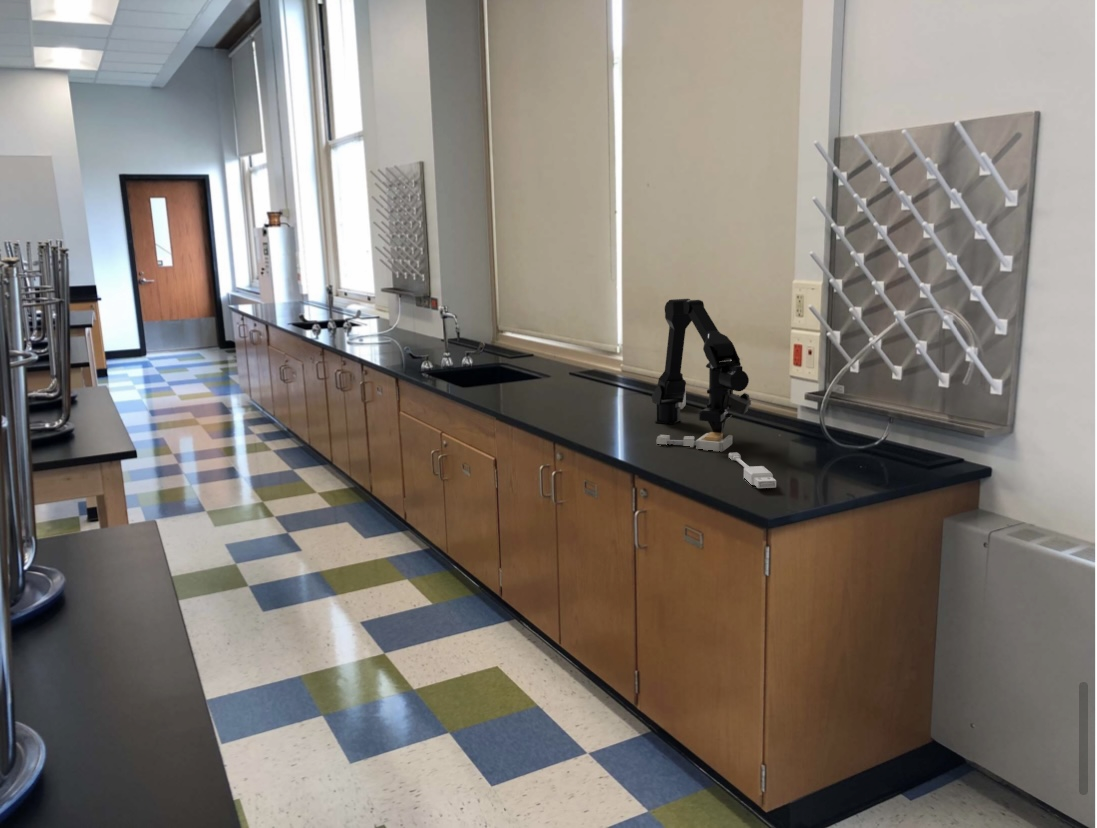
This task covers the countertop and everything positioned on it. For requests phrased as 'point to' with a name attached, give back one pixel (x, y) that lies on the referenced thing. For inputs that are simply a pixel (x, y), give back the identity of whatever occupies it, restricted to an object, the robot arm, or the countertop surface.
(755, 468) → the charging cable
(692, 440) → the clip
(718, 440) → the tan rectangular block
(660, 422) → the robot arm
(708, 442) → the end holder
